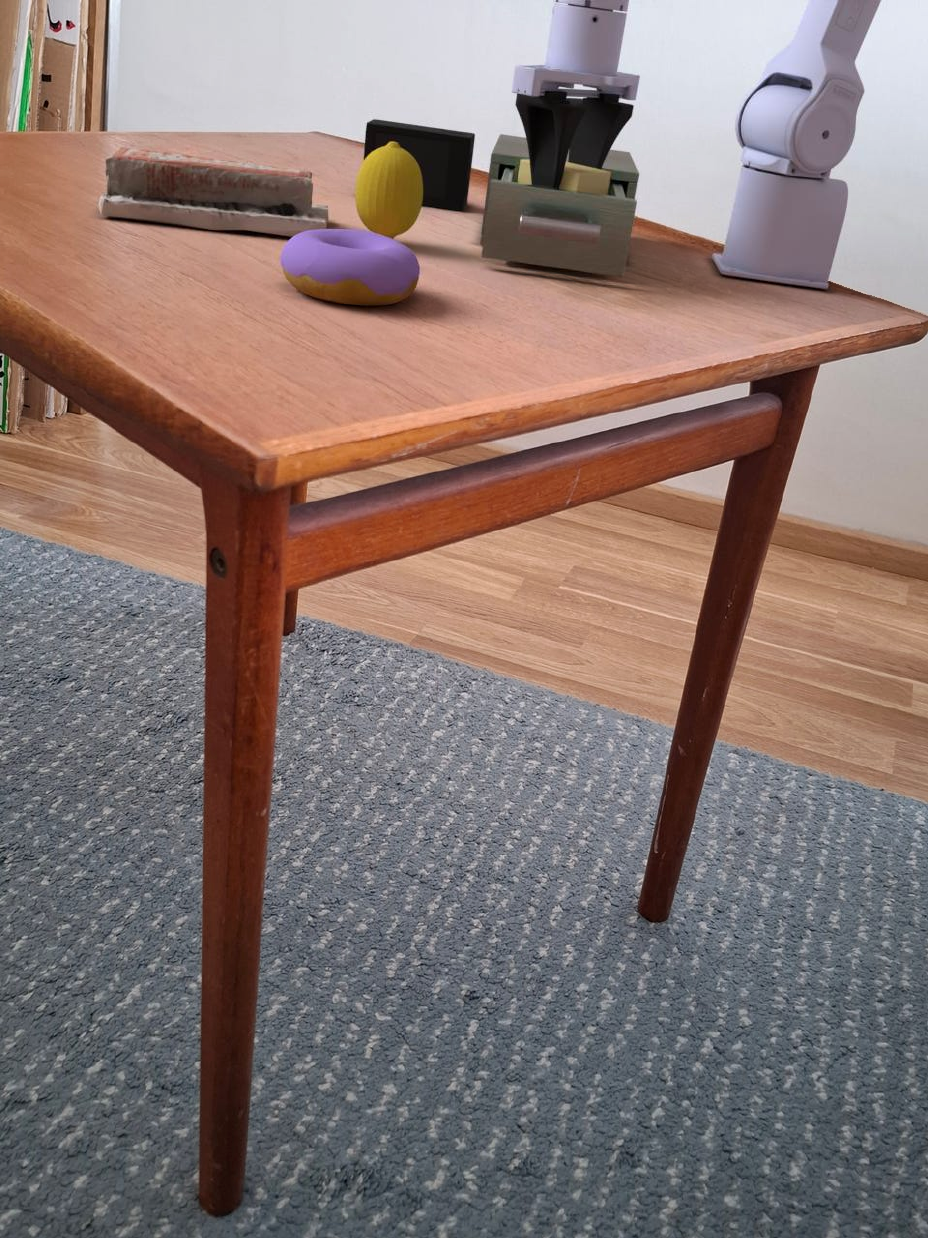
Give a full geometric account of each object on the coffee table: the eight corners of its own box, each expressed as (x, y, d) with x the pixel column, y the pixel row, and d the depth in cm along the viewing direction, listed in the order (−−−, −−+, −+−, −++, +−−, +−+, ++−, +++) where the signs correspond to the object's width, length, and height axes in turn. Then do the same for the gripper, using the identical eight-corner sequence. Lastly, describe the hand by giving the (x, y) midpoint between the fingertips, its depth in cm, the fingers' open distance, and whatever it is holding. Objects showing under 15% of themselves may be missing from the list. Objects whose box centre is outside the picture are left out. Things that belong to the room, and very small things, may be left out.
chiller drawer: (626, 290, 91) (641, 211, 88) (477, 269, 91) (487, 189, 88) (616, 243, 108) (628, 176, 105) (490, 226, 108) (499, 158, 105)
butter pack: (603, 216, 99) (611, 171, 97) (572, 218, 96) (580, 172, 94) (546, 201, 102) (552, 158, 101) (514, 203, 99) (520, 158, 97)
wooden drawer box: (622, 264, 104) (639, 173, 101) (479, 244, 104) (491, 152, 101) (615, 233, 118) (630, 151, 115) (489, 215, 118) (499, 133, 115)
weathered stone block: (95, 153, 92) (118, 137, 101) (96, 218, 94) (119, 197, 103) (329, 180, 94) (332, 162, 103) (325, 243, 97) (328, 220, 105)
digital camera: (469, 203, 123) (477, 131, 120) (463, 211, 119) (472, 136, 115) (369, 189, 124) (375, 116, 120) (360, 196, 119) (366, 121, 116)
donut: (249, 271, 83) (265, 200, 82) (356, 293, 89) (373, 228, 88) (324, 309, 77) (343, 233, 75) (435, 330, 83) (454, 260, 81)
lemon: (408, 254, 97) (419, 149, 93) (343, 243, 98) (351, 139, 94) (424, 243, 102) (434, 143, 98) (361, 232, 103) (369, 133, 99)
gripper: (578, 6, 85) (548, 205, 91) (682, 20, 95) (649, 198, 101) (501, -5, 88) (477, 187, 95) (609, 10, 99) (581, 182, 105)
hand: (561, 192), depth 98 cm, fingers closed on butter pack, 4 cm apart
